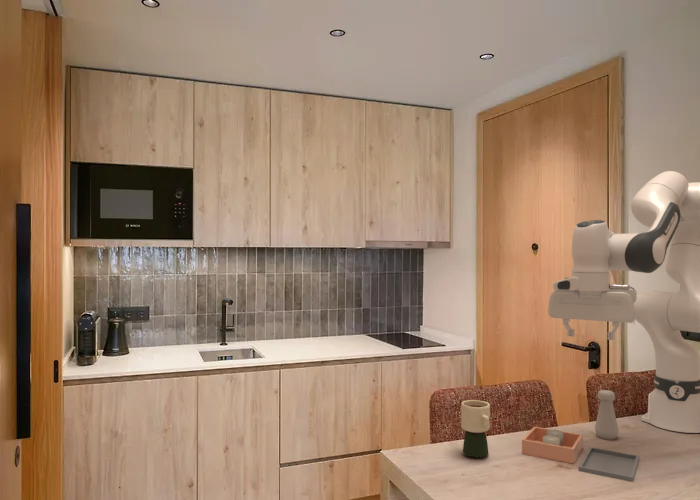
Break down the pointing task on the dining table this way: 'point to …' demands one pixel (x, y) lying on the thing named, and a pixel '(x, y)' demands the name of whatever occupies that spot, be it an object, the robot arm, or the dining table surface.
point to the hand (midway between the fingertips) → (590, 337)
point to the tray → (610, 463)
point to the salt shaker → (606, 416)
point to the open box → (552, 446)
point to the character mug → (475, 427)
